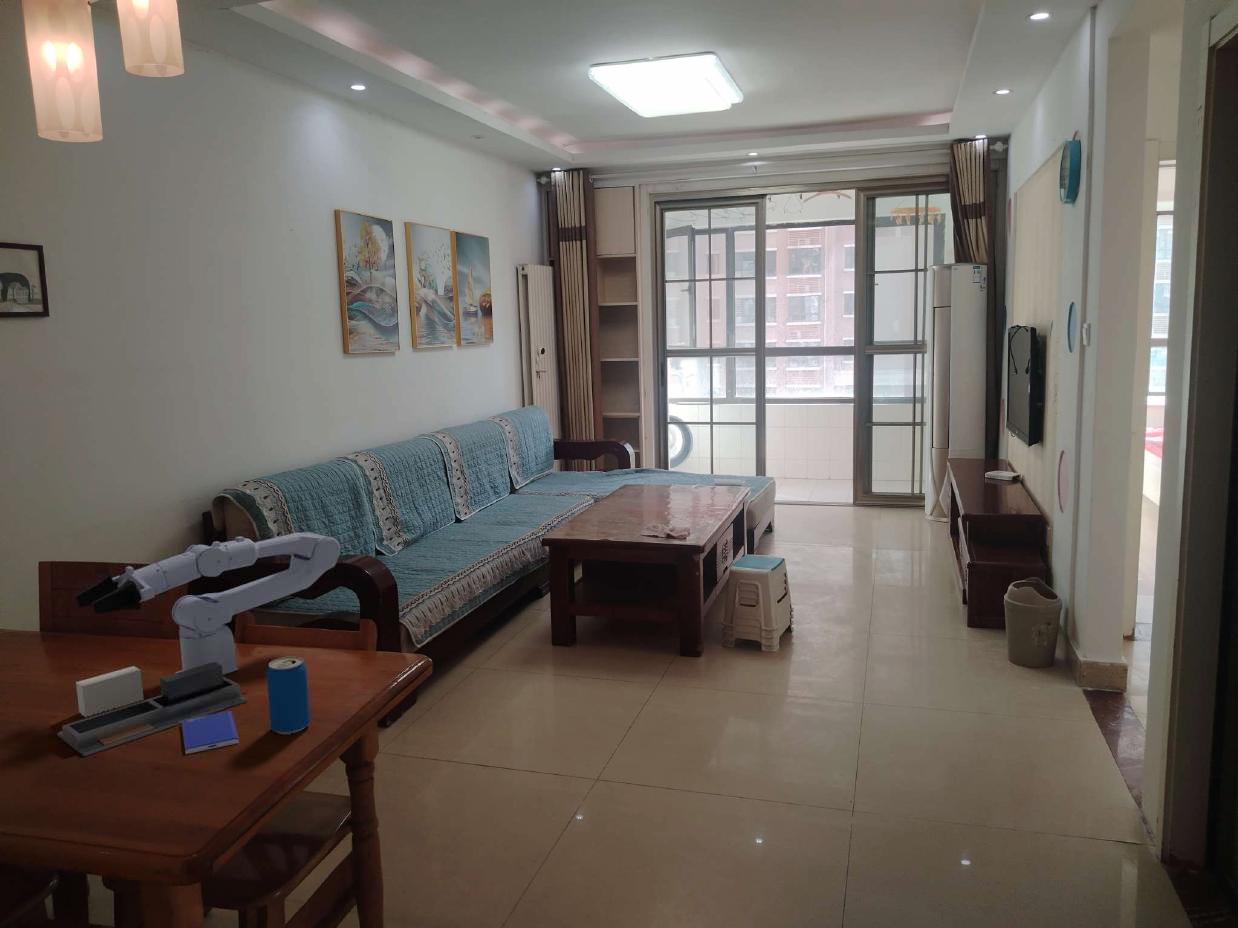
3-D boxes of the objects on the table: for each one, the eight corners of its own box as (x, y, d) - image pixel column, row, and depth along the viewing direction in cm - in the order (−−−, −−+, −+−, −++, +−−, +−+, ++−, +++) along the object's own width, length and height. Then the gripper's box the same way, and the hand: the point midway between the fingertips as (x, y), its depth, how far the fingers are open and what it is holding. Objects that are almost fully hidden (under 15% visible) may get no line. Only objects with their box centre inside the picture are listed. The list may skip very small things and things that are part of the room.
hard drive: (181, 720, 159) (185, 748, 149) (231, 709, 163) (238, 736, 152) (182, 728, 160) (185, 757, 149) (232, 718, 163) (239, 745, 153)
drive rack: (217, 685, 177) (214, 653, 176) (247, 701, 169) (245, 667, 168) (57, 735, 156) (53, 699, 155) (84, 756, 148) (80, 718, 147)
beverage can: (318, 722, 160) (313, 657, 158) (294, 738, 154) (289, 671, 152) (288, 718, 162) (283, 653, 160) (262, 733, 156) (257, 666, 154)
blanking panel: (136, 695, 173) (133, 665, 172) (143, 699, 171) (140, 669, 170) (79, 713, 165) (76, 682, 165) (85, 717, 164) (82, 686, 163)
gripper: (137, 553, 178) (63, 578, 168) (171, 563, 169) (95, 591, 159) (147, 586, 180) (74, 613, 170) (180, 598, 171) (106, 627, 161)
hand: (85, 605), depth 165 cm, fingers open, 7 cm apart
